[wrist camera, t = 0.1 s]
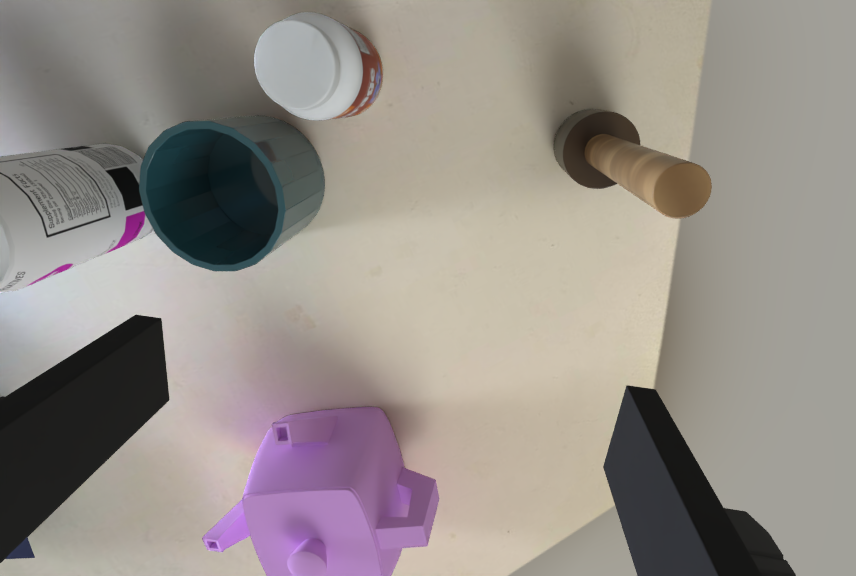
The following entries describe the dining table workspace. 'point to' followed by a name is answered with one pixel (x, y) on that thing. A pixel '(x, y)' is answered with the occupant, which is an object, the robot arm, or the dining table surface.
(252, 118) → the jar
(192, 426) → the dining table surface
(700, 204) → the brush
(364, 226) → the dining table surface
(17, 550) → the dark blue flat slab
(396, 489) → the teakettle
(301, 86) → the pill bottle
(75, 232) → the supplement can
